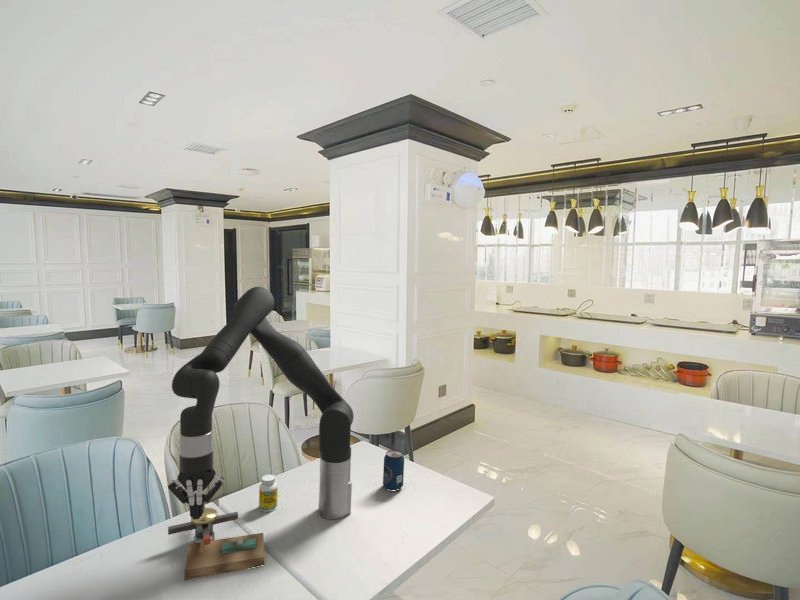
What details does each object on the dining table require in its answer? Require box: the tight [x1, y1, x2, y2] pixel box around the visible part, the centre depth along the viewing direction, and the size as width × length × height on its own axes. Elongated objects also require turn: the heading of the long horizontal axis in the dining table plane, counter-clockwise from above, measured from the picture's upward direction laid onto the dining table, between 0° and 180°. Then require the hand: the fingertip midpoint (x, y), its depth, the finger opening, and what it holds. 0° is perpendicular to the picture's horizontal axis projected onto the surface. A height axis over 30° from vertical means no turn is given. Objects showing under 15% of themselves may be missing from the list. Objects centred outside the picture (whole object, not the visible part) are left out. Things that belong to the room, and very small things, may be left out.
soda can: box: [382, 449, 405, 490], centre depth 149 cm, size 7×7×12 cm
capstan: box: [167, 503, 239, 545], centre depth 117 cm, size 17×17×7 cm
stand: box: [183, 532, 266, 581], centre depth 110 cm, size 18×10×5 cm, turn 109°
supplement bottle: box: [258, 474, 279, 513], centre depth 134 cm, size 5×5×10 cm
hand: (197, 517), depth 108 cm, fingers closed
